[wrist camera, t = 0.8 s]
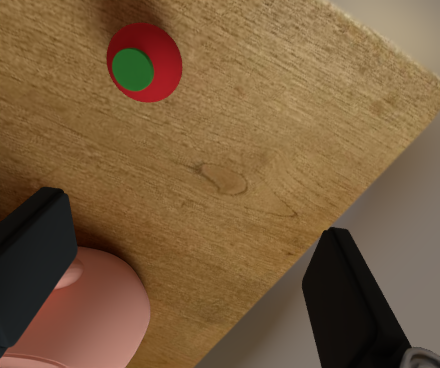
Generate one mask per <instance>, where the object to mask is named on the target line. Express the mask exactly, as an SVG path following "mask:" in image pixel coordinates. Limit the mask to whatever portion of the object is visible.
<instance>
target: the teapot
mask: <svg viewBox="0 0 440 368" xmlns="http://www.w3.org/2000/svg"><path fill="white" fill-rule="evenodd" d="M149 320H150V303H149V299H148V296H147V293H146V291H145V288H144V286H143V284H142V282H141V280H140V279H139V277H138V275H137V274H136V272H135V271H134V270H133V269H132V267H131V266H129V265H128V264H127V263H126V262H125V261H123V260H122V259H120V258H119V257H117V256H115V255H113V254H110V253H108V252H104V251H101V250H97V249H92V248H86V247H78V251H77V255H76V257H75V259H74V261H73V262H72V263H71V265H70V266H69V268H68V269H67V271H66V272H65V274H64V275H63V276H62V278H61V279H60V281H59V282H58V284H57V285H56V287H55V288H54V289H53V291H52V292H51V294H50V295H49V297H48V298H47V300H46V301H45V302H44V304H43V305H42V307H41V308H40V310H39V311H38V313H37V314H36V316H35V317H34V318H33V320H32V321H31V323H30V324H29V326H28V327H27V329H26V330H25V331H24V333H23V334H22V336H21V337H20V339H19V340H18V342H17V343H16V344H15V345H14V346H12V347H8V349H7V350H6V352H5V353H4V354H3V356H2V357H1V358H0V368H125V367H126V365H127V364H128V362H129V361H130V360H131V358H132V357H133V355H134V354H135V352H136V350H137V348H138V347H139V345H140V343H141V341H142V339H143V337H144V334H145V332H146V330H147V327H148V324H149Z"/></svg>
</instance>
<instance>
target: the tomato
mask: <svg viewBox="0 0 440 368" xmlns="http://www.w3.org/2000/svg"><path fill="white" fill-rule="evenodd" d="M107 67H108V71H109V74H110V76H111V78H112V80H113V82H114V83H115V85H116V86H117V87H118V88H119V90H120V91H122V92H123V93H124V94H125V95H127V96H128V97H130V98H132V99H134V100H137V101H140V102H156V101H160V100H162V99H164V98H166V97H168V96H169V95H170V94H171V93H172V92H173V91H174V90H175V89H176V87H177V86H178V84H179V81H180V79H181V75H182V59H181V55H180V52H179V49H178V47H177V45H176V43H175V42H174V40H173V39H172V38H171V37H170V36H169V35H168V34H167V33H166V32H165V31H164V30H162V29H161V28H159V27H157V26H155V25H152V24H149V23H133V24H129V25H126V26H125V27H123V28H121V29H120V30H119V31H118V32H117V33H116V34H115V35H114V36H113V38H112V39H111V41H110V43H109V46H108V50H107Z"/></svg>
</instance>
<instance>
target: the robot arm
mask: <svg viewBox="0 0 440 368" xmlns="http://www.w3.org/2000/svg"><path fill="white" fill-rule="evenodd" d="M77 251H78V247H77V242H76V236H75V231H74V225H73V219H72V214H71V208H70V203H69V197H68V195H67V194H65V193H64V191H63V190H62V189H59V188H52V187H42V188H41V189H39V190H38V191H37V192H36V193H35V194H33V195H32V196H31V197H30V198H29V199H27V200H26V201H25V202H24V203H23V204H21V205H20V206H19V207H18V208H17V209H15V210H14V211H13V212H12V213H11V214H9V215H8V216H7V217H6V218H5V219H3V220H2V221H1V222H0V358H1V357H2V356H3V354H4V353H5V352H6V350H7V349H8V347H12V346H14V345H15V344H16V343H17V342H18V340H19V339H20V337H21V336H22V334H23V333H24V331H25V330H26V329H27V327H28V326H29V324H30V323H31V321H32V320H33V318H34V317H35V316H36V314H37V313H38V311H39V310H40V308H41V307H42V305H43V304H44V302H45V301H46V300H47V298H48V297H49V295H50V294H51V292H52V291H53V289H54V288H55V287H56V285H57V284H58V282H59V281H60V279H61V278H62V276H63V275H64V274H65V272H66V271H67V269H68V268H69V266H70V265H71V263H72V262H73V261H74V259H75V257H76V255H77ZM302 290H303V294H304V298H305V302H306V306H307V310H308V314H309V318H310V322H311V326H312V330H313V334H314V338H315V342H316V346H317V351H318V354H319V359H320V363H321V367H322V368H440V356H439V355H437V354H435V353H433V352H432V351H430V350H427V349H424V348H421V347H411V345H410V343H409V341H408V339H407V337H406V336H405V334H404V332H403V330H402V328H401V326H400V325H399V323H398V321H397V319H396V317H395V315H394V313H393V312H392V310H391V308H390V306H389V304H388V303H387V301H386V299H385V297H384V295H383V293H382V291H381V290H380V288H379V286H378V284H377V282H376V280H375V278H374V277H373V275H372V273H371V271H370V269H369V268H368V266H367V264H366V262H365V260H364V259H363V256H362V255H361V253H360V251H359V249H358V247H357V245H356V244H355V242H354V240H353V238H352V236H351V234H350V233H349V231H348V230H347V229H342V228H335V227H330V228H329V229H328V230H324V231H323V233H322V235H321V238H320V240H319V243H318V245H317V247H316V249H315V252H314V254H313V257H312V259H311V261H310V263H309V266H308V268H307V270H306V273H305V275H304V277H303V281H302Z"/></svg>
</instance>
